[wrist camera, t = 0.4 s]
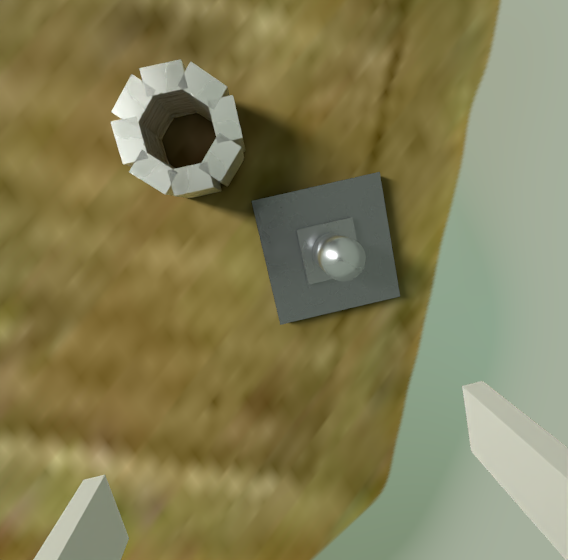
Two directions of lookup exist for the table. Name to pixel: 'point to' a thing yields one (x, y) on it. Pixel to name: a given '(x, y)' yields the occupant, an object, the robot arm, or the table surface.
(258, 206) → the shaft block
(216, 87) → the ring
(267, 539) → the table surface
